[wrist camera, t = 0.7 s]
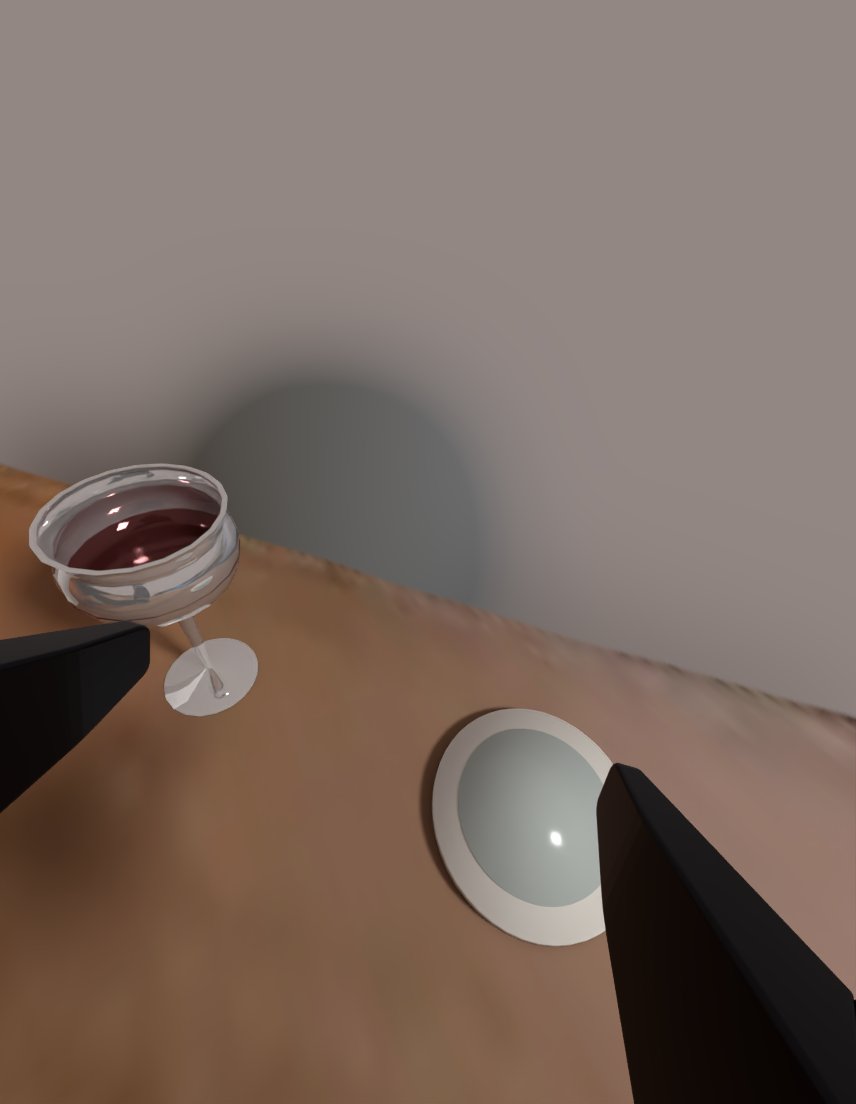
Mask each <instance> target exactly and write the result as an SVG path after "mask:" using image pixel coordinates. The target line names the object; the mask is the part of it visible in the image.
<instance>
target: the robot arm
mask: <svg viewBox="0 0 856 1104" xmlns="http://www.w3.org/2000/svg"><path fill="white" fill-rule="evenodd" d="M149 664H150V631H149V629H148V628H147V627H146V626H145V625H142V624H138V623H135V622H131V621H120V622H114V623H108V624H101V625H95V626H88V627H82V628H75V629H69V630H62V631H56V632H50V633H43V634H37V635H30V636H24V637H17V638H11V639H4V640H0V813H1V812H2V811H3V810H5V809H6V808H7V807H8V806H9V805H10V804H11V803H12V802H14V801H15V800H16V799H17V798H18V797H19V796H20V795H21V794H23V793H24V792H25V791H26V790H27V789H28V788H29V787H30V786H31V785H33V784H34V783H35V782H36V781H37V780H38V779H39V778H40V777H42V776H43V775H44V774H45V773H46V772H47V771H48V770H49V769H50V768H52V767H53V766H54V765H55V764H56V763H57V762H58V761H59V760H61V759H62V758H63V757H64V756H65V755H66V754H67V753H68V752H69V751H71V750H72V749H73V748H74V747H75V746H76V745H77V744H78V743H79V742H80V741H81V740H82V739H84V738H85V737H86V735H87V734H88V733H89V732H90V731H91V730H92V729H93V728H94V727H95V726H96V725H97V724H98V723H99V722H100V721H101V720H102V719H103V718H104V717H105V716H106V715H107V714H108V713H109V712H110V711H111V709H112V708H113V707H114V706H115V705H116V704H117V703H118V702H119V701H120V700H121V699H122V698H123V697H124V696H125V695H126V694H127V693H128V692H129V690H130V689H131V688H132V687H133V686H134V685H135V684H136V683H137V682H138V681H139V680H140V679H141V678H142V677H143V676H144V674H145V673H146V671H147V669H148V667H149ZM596 818H597V834H598V850H599V866H600V881H601V896H602V908H603V916H604V923H605V930H606V936H607V942H608V948H609V954H610V960H611V966H612V972H613V978H614V984H615V990H616V996H617V1002H618V1009H619V1015H620V1021H621V1027H622V1033H623V1039H624V1045H625V1051H626V1057H627V1063H628V1069H629V1075H630V1081H631V1087H632V1094H633V1100H634V1104H856V1000H854V997H853V994H852V992H851V991H850V990H849V989H848V988H847V987H846V986H845V985H844V984H843V983H842V982H841V980H840V979H839V978H838V977H837V976H836V975H835V974H834V973H833V972H832V971H831V970H830V969H829V968H828V967H827V966H826V965H825V964H824V963H823V962H822V960H821V959H820V958H819V957H818V956H817V955H816V954H815V953H814V952H813V951H812V950H811V949H810V948H809V947H808V946H807V945H806V944H805V943H804V942H803V941H802V939H801V938H800V937H799V936H798V935H797V934H796V933H795V932H794V931H793V930H792V929H791V928H790V927H789V926H788V925H787V924H786V923H785V922H784V921H783V919H782V918H781V917H780V916H779V915H778V914H777V913H776V912H775V911H774V910H773V909H772V908H771V907H770V906H769V905H768V904H767V903H766V902H765V901H764V900H763V898H762V897H761V896H760V895H759V894H758V893H757V892H756V891H755V890H754V889H753V888H752V887H751V886H750V885H749V884H748V883H747V882H746V881H745V880H744V878H743V877H742V876H741V875H740V874H739V873H738V872H737V871H736V870H735V869H734V868H733V867H732V866H731V865H730V864H729V863H728V862H727V861H726V860H725V859H724V857H723V856H722V855H721V854H720V853H719V852H718V851H717V850H716V849H715V848H714V847H713V846H712V845H711V844H710V843H709V842H708V841H707V840H706V839H705V837H704V836H703V835H702V834H701V833H700V832H699V831H698V830H697V829H696V828H695V827H694V826H693V825H692V824H691V823H690V822H689V821H688V820H687V819H686V818H685V816H684V815H683V814H682V813H681V812H680V811H679V810H678V809H677V808H676V807H675V806H674V805H673V804H672V803H671V802H670V801H669V800H668V799H667V798H666V796H665V795H664V794H663V793H662V792H661V791H660V790H659V789H658V788H657V787H656V786H655V785H654V784H653V783H652V782H651V781H650V780H649V779H648V778H647V777H646V775H645V774H644V773H643V772H642V771H641V770H639V769H637V768H634V767H631V766H627V765H624V764H620V763H615V764H613V765H612V766H611V768H610V770H609V772H608V775H607V777H606V780H605V782H604V785H603V787H602V790H601V792H600V795H599V797H598V801H597V806H596Z"/></svg>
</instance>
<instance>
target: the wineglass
mask: <svg viewBox="0 0 856 1104" xmlns="http://www.w3.org/2000/svg"><path fill="white" fill-rule="evenodd" d="M226 507H227V495H226V493H225V491H224V489H223V487H222V484H221V483H220V482H218V481H217V480H216V479H214V478H213V477H212V476H211V475H209V474H208V473H205V472H203V471H200V470H197V469H194V468H191V467H188V466H181V465H171V464H149V465H148V464H146V465H135V466H130V467H125V468H120V469H115V470H110V471H107V472H104V473H101V474H99V475H96V476H93V477H90V478H88V479H85V480H82V481H80V482H79V483H77V484H75V485H73V486H71V487H70V488H68V489H66V490H64V491H62V492H61V493H59V494H57V495H56V496H55V497H54V498H53V499H52V500H51V501H50V502H48V503H47V504H46V505H45V506H44V507H43V508H42V509H40V510H39V512H38V514H37V516H36V517H35V519H34V521H33V523H32V524H31V526H30V528H29V547H30V548H31V549H32V550H33V552H34V553H35V554H36V556H37V557H38V558H39V559H40V561H41V562H43V563H45V564H47V565H49V566H51V567H52V575H53V578H54V582H55V585H56V586H57V588H58V589H59V590H60V592H61V593H62V594H63V595H64V597H65V598H66V599H67V600H68V601H69V602H70V603H71V604H72V605H73V606H74V608H76V609H77V610H79V611H80V612H82V613H84V614H86V615H88V616H90V617H93V618H95V619H97V620H99V621H101V622H103V623H106V624H108V623H114V622H120V621H131V622H135V623H138V624H142V625H145V626H146V627H147V628H155V627H162V626H167V625H170V624H172V623H175V622H178V623H179V624H180V626H181V628H182V630H183V631H184V633H185V635H186V636H187V638H188V640H189V641H190V643H191V645H192V648H190V649H189V650H187V651H186V652H184V653H183V654H182V655H181V656H180V657H179V658H178V659H177V660H176V661H175V662H174V663H173V664H172V666H171V668H170V669H169V671H168V673H167V675H166V678H165V684H164V692H165V696H166V700H167V701H168V702H169V704H170V705H171V706H172V707H173V709H175V710H177V711H179V712H181V713H183V714H185V715H193V716H205V715H210V714H216V713H218V712H220V711H223V710H225V709H227V708H229V707H231V706H233V705H234V704H235V703H237V702H238V701H239V700H240V699H242V698H243V697H244V696H245V695H246V693H247V692H248V691H249V690H250V688H251V687H252V686H253V683H254V681H255V678H256V676H257V673H258V661H257V658H256V656H255V653H254V651H253V650H252V649H251V648H250V647H249V646H248V645H247V644H245V643H243V642H240V641H238V640H236V639H227V638H219V639H212V640H208V641H205V642H203V640H202V637H201V634H200V632H199V629H198V626H197V624H196V621H195V618H194V616H193V615H195V614H197V613H198V612H200V611H202V610H203V609H205V608H207V607H208V606H210V605H212V604H213V603H214V602H215V601H216V600H217V599H218V598H219V597H220V596H221V595H222V594H223V593H224V592H225V591H226V590H227V589H228V587H229V585H230V583H231V581H232V580H233V578H234V576H235V574H236V571H237V567H238V564H239V554H240V538H239V532H238V529H237V527H236V525H235V523H234V521H233V519H232V517H231V516H230V514H229V512H228V511H227V510H226Z"/></svg>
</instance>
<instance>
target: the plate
mask: <svg viewBox="0 0 856 1104" xmlns="http://www.w3.org/2000/svg"><path fill="white" fill-rule="evenodd" d="M612 765H613V764H612V762H611V761H610V759H609V758H608V757H607V756H606V755H605V753H604V752H603V751H602V750H601V749H600V748H599V747H598V746H597V745H596V744H595V743H594V742H593V741H592V740H591V739H590V738H589V737H587V736H586V735H585V734H584V733H582V732H581V731H580V730H578V729H577V728H575V727H574V726H572V725H570V724H569V723H567V722H565V721H563V720H561V719H559V718H557V717H555V716H552V715H549V714H547V713H544V712H540V711H535V710H530V709H504V710H498V711H494V712H491V713H488V714H485V715H483V716H481V717H479V718H477V719H475V720H474V721H472V722H471V723H469V724H468V725H467V726H465V727H464V728H463V729H462V730H461V731H460V732H459V733H458V734H457V735H456V736H455V738H454V739H453V740H452V741H451V743H450V744H449V746H448V747H447V749H446V751H445V753H444V755H443V757H442V759H441V761H440V764H439V767H438V771H437V774H436V777H435V782H434V787H433V793H432V822H433V828H434V834H435V839H436V842H437V846H438V849H439V853H440V855H441V858H442V860H443V863H444V865H445V867H446V870H447V872H448V873H449V875H450V877H451V879H452V881H453V882H454V884H455V886H456V887H457V889H458V890H459V891H460V893H461V894H462V896H463V897H464V898H465V900H466V901H467V902H468V903H469V904H470V905H471V906H472V907H473V908H474V910H475V911H476V912H477V913H478V914H480V915H481V916H482V917H483V918H484V919H485V920H487V921H488V922H489V923H490V924H491V925H493V926H495V927H496V928H498V929H499V930H501V931H502V932H504V933H505V934H508V935H510V936H512V937H514V938H516V939H518V940H521V941H524V942H528V943H531V944H535V945H541V946H550V947H556V946H568V945H572V944H576V943H580V942H583V941H587V940H589V939H591V938H593V937H595V936H597V935H599V934H601V933H602V932H604V931H605V923H604V916H603V908H602V896H601V881H600V866H599V850H598V834H597V818H596V806H597V801H598V797H599V795H600V792H601V790H602V787H603V785H604V782H605V780H606V777H607V775H608V772H609V770H610V768H611V766H612Z"/></svg>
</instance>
